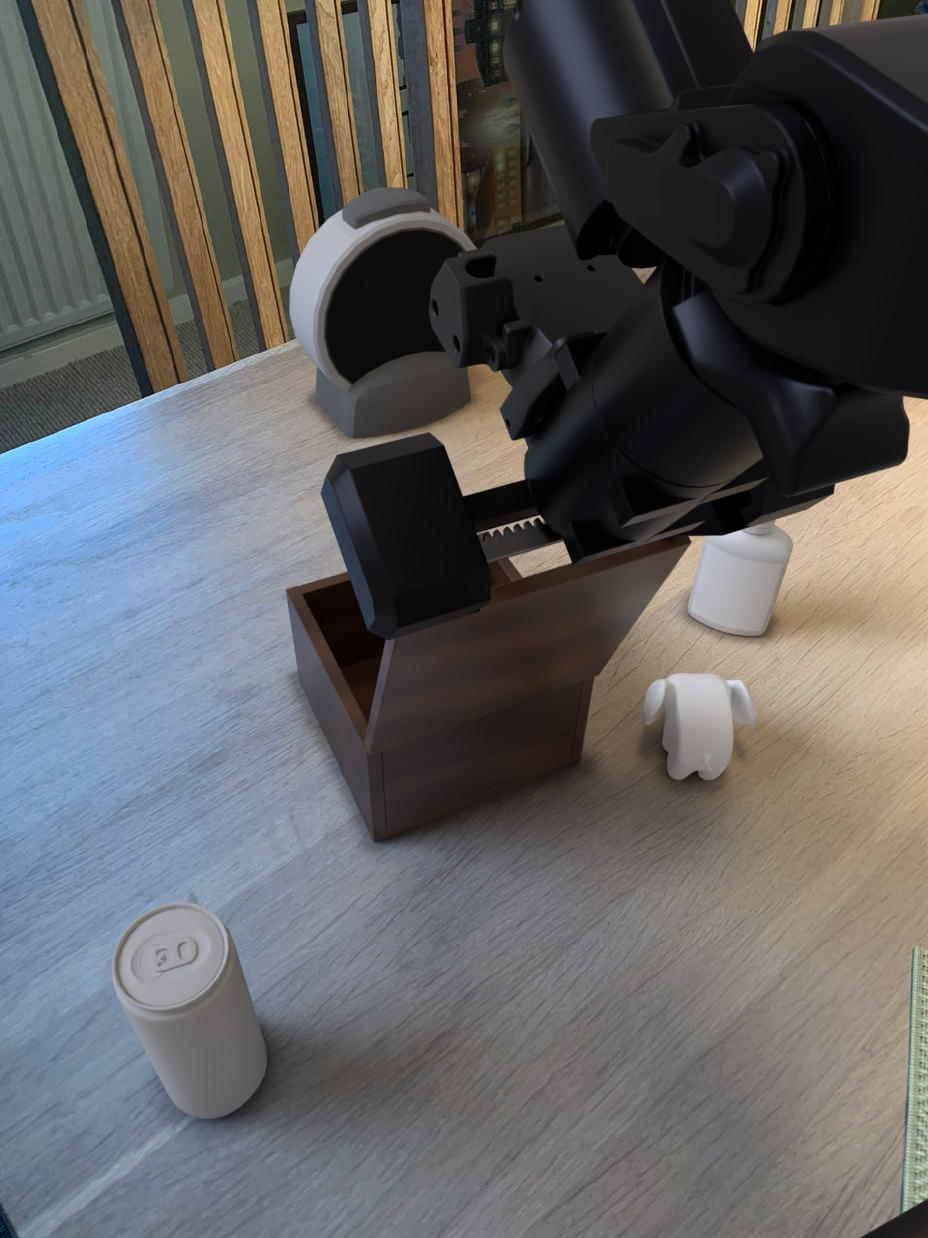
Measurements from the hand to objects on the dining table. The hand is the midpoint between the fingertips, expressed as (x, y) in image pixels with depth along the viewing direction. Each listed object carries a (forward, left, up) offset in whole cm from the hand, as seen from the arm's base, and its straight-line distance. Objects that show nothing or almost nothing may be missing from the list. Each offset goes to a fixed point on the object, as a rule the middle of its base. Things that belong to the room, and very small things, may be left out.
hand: (523, 551), depth 44 cm
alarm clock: (+40, +21, -21) cm, 50 cm away
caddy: (+6, +6, -21) cm, 22 cm away
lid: (-1, 0, -5) cm, 5 cm away
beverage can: (-18, +9, -21) cm, 29 cm away
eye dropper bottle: (+21, -11, -21) cm, 31 cm away
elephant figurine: (+8, -10, -21) cm, 24 cm away
